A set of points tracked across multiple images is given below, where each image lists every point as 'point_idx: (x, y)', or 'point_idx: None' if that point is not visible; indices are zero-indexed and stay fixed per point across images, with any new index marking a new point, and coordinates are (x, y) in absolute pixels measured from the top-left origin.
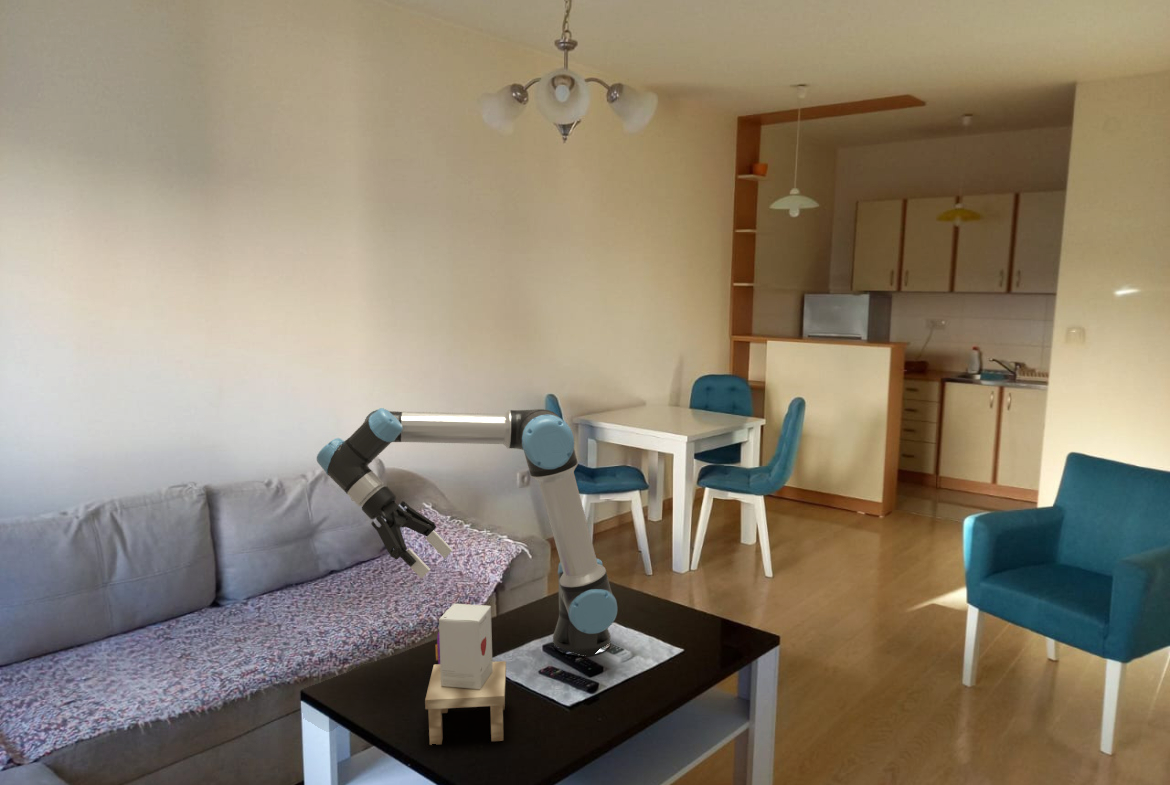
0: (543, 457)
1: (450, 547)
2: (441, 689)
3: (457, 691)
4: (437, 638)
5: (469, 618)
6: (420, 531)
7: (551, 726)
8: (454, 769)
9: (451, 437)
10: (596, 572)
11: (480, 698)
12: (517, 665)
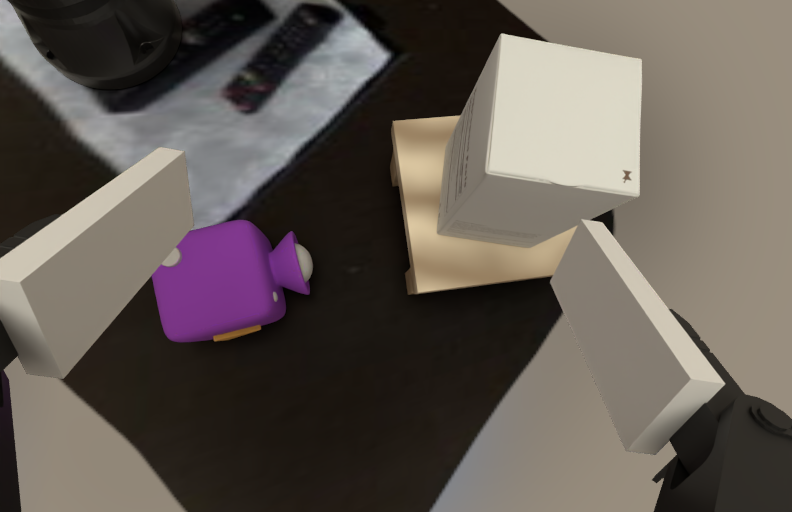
0: None
1: (147, 157)
2: (540, 244)
3: None
4: (204, 336)
5: (628, 88)
6: (4, 450)
7: (462, 81)
8: (599, 220)
9: None
10: None
11: None
12: (216, 160)
